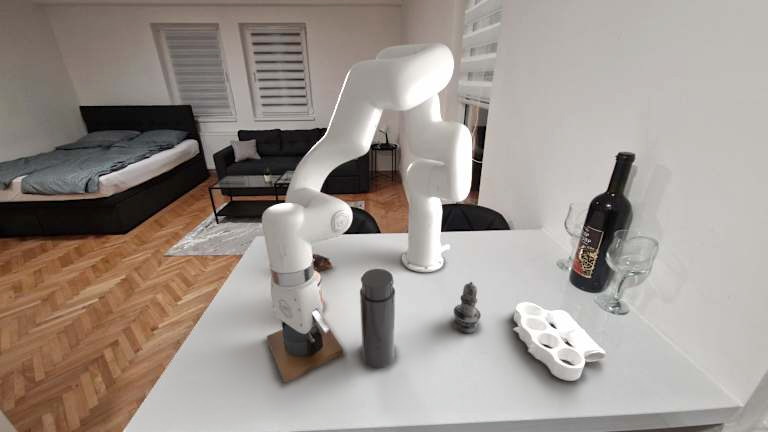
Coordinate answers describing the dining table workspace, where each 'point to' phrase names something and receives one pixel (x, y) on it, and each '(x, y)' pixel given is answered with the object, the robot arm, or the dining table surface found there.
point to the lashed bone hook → (321, 263)
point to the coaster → (302, 364)
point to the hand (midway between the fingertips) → (303, 341)
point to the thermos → (377, 317)
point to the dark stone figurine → (467, 311)
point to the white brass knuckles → (556, 340)
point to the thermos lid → (296, 341)
